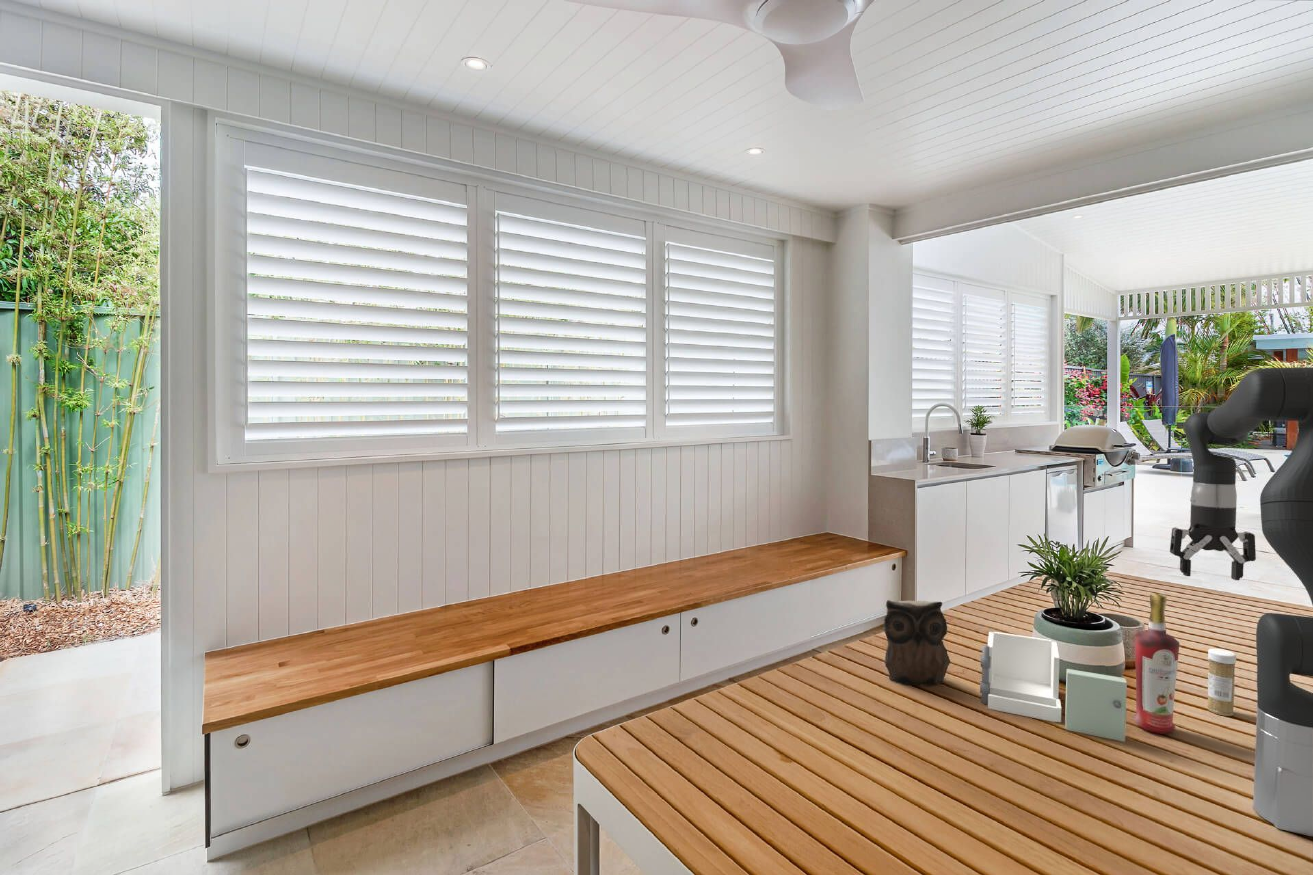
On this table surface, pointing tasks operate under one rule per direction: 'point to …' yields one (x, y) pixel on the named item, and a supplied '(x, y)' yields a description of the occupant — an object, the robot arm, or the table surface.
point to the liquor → (1156, 671)
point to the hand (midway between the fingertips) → (1210, 577)
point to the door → (1096, 704)
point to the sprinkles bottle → (1221, 682)
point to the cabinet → (1021, 676)
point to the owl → (915, 642)
